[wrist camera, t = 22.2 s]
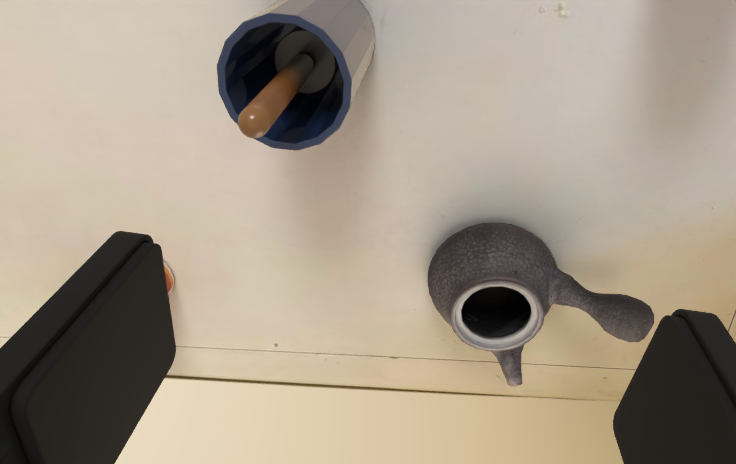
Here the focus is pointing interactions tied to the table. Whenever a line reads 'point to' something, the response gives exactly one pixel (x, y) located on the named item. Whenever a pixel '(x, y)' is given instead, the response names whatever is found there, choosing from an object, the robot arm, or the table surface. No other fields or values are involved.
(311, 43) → the mallet
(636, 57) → the table surface
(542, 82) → the table surface
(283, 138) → the cup
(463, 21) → the table surface
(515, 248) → the teapot
